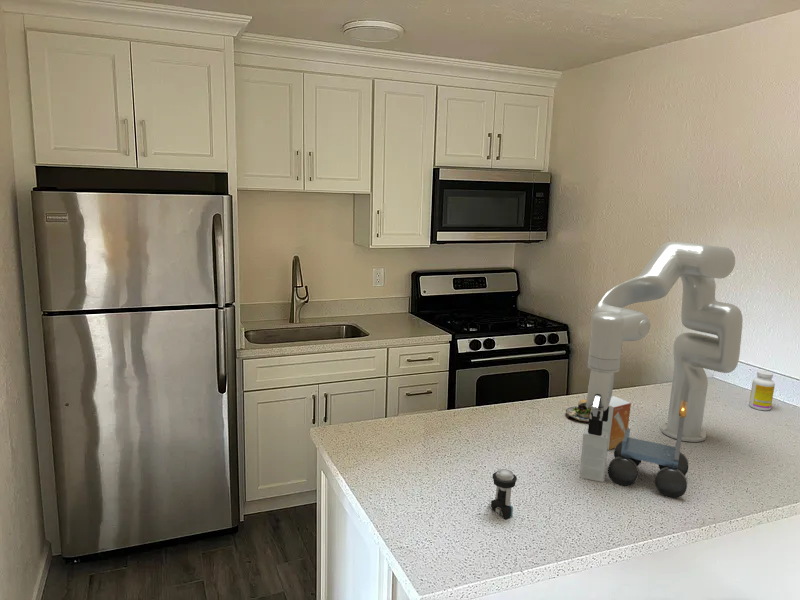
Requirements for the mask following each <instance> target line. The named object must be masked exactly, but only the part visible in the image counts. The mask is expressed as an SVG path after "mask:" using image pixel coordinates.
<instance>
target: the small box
mask: <svg viewBox="0 0 800 600" xmlns="http://www.w3.org/2000/svg"><path fill="white" fill-rule="evenodd" d="M631 405H632V403H631V402H629V401H627V400H625V399H622V398H620V397H617V396H616V395H615V396H614V395H613V396H612V397H611V401H610V403H609V406H608V407H609V413H608V421H607V422H605V421H603V426H602V431H603V432H608V433H609V435H608V445H607V451H608V450H612V449H615V448H616V446H617V444H618V443H619V442H621V441H623V438H624V435H625V433H626V430H627V428H629V423H630V415H631V408H632V407H631Z"/></svg>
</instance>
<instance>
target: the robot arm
mask: <svg viewBox="0 0 800 600" xmlns="http://www.w3.org/2000/svg"><path fill="white" fill-rule="evenodd" d="M735 265H736V256H735V253H734V252H733V250H732V249H730V248H729V247H726V246H724V247H723V246H719V245H718V246H716V245H709V244H704V243H692V242H685V241H667V242H665V243H663V244H661V245H660V247H659V248H658V249H657V250H656V251H655V253H654V254H653V255H652V257H651V258H650V260H648V262H647V264H646V265H645V266H644V268H643V269H642V270H641V272H640V273H639V274H638V275H637V276H635V277H632V278H630V279H627V280H626V281H623V282H621V283H620V284H617V285H615V286H614V287H612V288H610V289H609V290H607V291H606V293H605V294H604V295H603V296H602V297H601V299H600V300H599V301H598V303H597V304H596V305H595V307H594V309H593V311H592V312H591V316H590V338H589V348H588V358H587V359H588V360H587V368H588V369H589V370H590V375H589V381H588V387H587V394H586V400H587V402H586V407H587V408H591V413H590V418H589V422H588V426H587V429H588V433H589V434H593V435H598V436H601V435H602V426H603V421H605V422H607V421H608V413H609V407H608V406H609V403H610V401H611V397H613V396H612V395H613V390H614V381H615V373H618V372H620V370H621V360H622V352H623V351H622V349H623V342H636V341H640V340H642V339H644V338H645V337H646V336H647V335H648V333H649V332H650V329H651V321H650V319H649V317H648V316H647V314H645V313H643V312H641V311H639V310H633V309H629V308H626V306H629V305H634V304H637V303H644V302H651V301H656V300H660V299H662V298H665V297H666V296H667V295H668V294H669V292H670V291H671V290H672V288H673V286H674V285H675V284H676V282H677V281H678V280H679V278H680V280H681V282H682V298H681V311H680V312H681V314H680V317H681V319H680V320H681V323H682V326H683V327H684V328H686V329H688V330H691V331H695V332H683V333H681V334H679V335H677V337H675V340H674V342H673V361H674V362H673V376H672V382H671V384H672V385H671V391H670V397H669V398H670V399H669V405H668V406H669V407H668V414H667V421H666V422H665V423H663V424H661V425H660V431H661V433H663V434H664V435H665V436H668V437H669V438H672V439H675V440H677V434H678V427H679V419H680V416H679V409H680V402H681V401H686V402H687V412H686V417H684V424H683V432H682V439H681V442H682V441H684V442H689V443H698V442H703V441H705V440H706V439H707V433H706V432H705V431H704V430H703V429H702V428H703V419H704V412H705V406H706V398H707V392H708V386H709V380H708V376H707V373H706V371H705V370H710V371H714V372H717V373H721V374H722V373H723V374H728V373H729V374H730V373H732V372H733V371H735V370H736V369H737V366H738V363H739V360H740V354H741V344H742V343H741V342H742V332H743V319H744V318H743V313H742V311H741V309H740V308H739V307H738V306H737V305H735V304H733V303H729V302H722V301H719V300H718V301H717V300H716V289H717V287H716V286H717V285H716V281H715V279H725V278H727V277H728V276H729V275H731V274H732V273H733V271H734V268H735ZM624 307H625V308H624ZM697 332H699V333H697ZM701 333H702V334H701ZM703 333H704V334H703ZM706 334H710V335H715V336H717V337H715V336H710V335H706ZM704 369H705V370H704Z"/></svg>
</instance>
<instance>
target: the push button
mask: <svg viewBox="0 0 800 600" xmlns="http://www.w3.org/2000/svg"><path fill="white" fill-rule="evenodd" d="M491 477H492V479H493V484H494V485H495V486H496V488H495V489H496V492H495V496H494V499H492V500H491V499H489V500H488V502H489V503H487V506H489V507H490V508H491V511H492V512H493V513H495V515H496V516H498V517H499V516H500V517H501V518H502V519H503V520H505V521H506V520H508V519H510V518H512V517H513V510H514V507H513V505H512V504H511V503H512V502H511V498H512V496H511V495H512V488H514V487H515V486H516V483H517V481H518V478H517V475H515V474H514V473H513V471H512V470H510V469H508V468H500V469H497V470H496V471H494V473H492V476H491Z"/></svg>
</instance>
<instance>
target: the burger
mask: <svg viewBox="0 0 800 600" xmlns="http://www.w3.org/2000/svg"><path fill="white" fill-rule="evenodd" d="M583 396H584V397H583V398H584V399H581V400H580V401H578V402H577V406H571V407H568V408H566V410H565V413H564V416H565V417H566V419H569V418H572V419H574V420H577V421H580V422H581V421H582V422H588V423H589V418H590V413H591V408H587V407H586V402H587V398H586V399H585V393H583Z"/></svg>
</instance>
